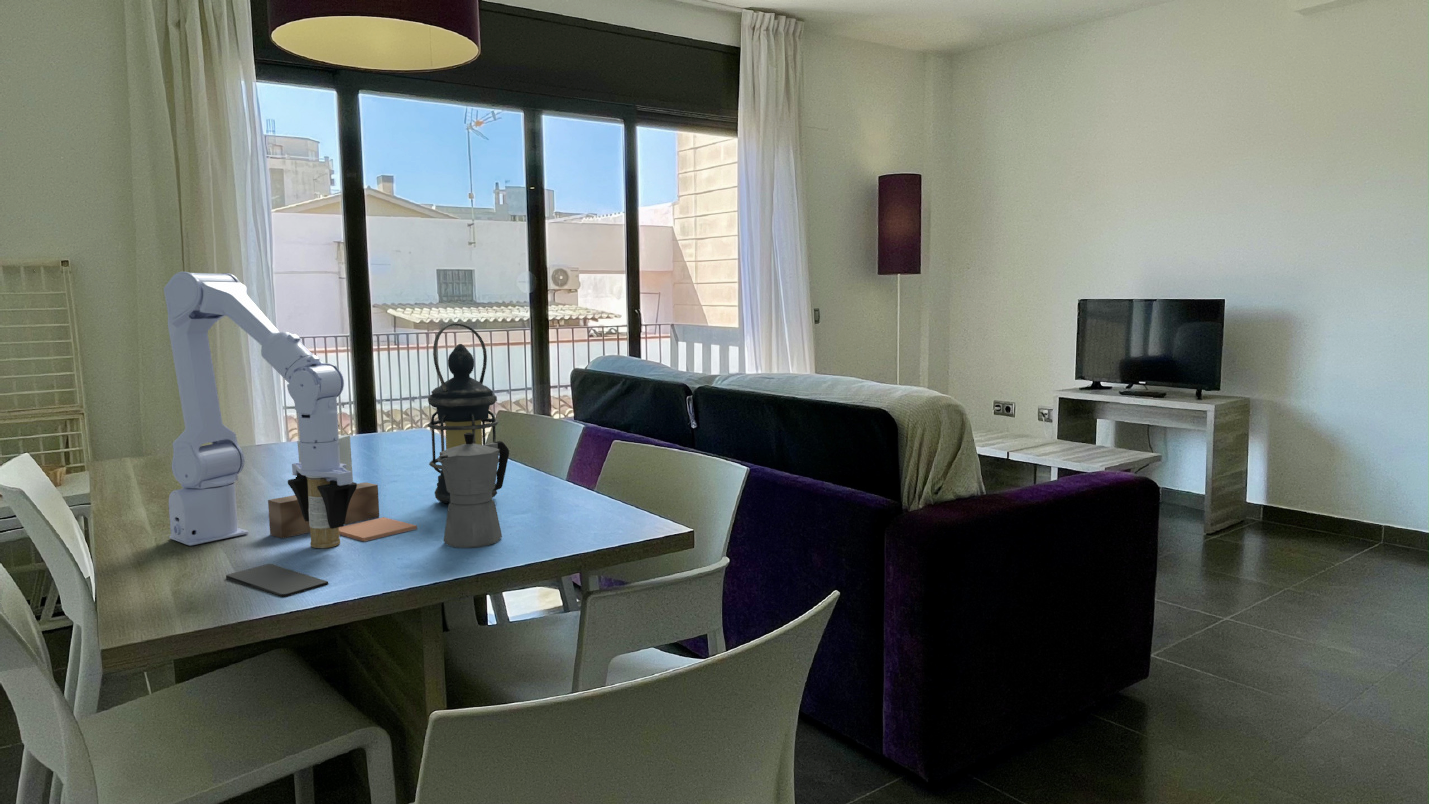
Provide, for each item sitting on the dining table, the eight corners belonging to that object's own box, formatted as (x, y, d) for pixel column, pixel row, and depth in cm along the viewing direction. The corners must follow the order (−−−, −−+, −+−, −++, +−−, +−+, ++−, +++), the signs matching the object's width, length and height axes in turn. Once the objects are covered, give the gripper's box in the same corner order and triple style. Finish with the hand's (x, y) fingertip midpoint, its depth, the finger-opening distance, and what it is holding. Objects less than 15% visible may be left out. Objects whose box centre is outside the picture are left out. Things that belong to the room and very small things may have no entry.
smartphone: (283, 594, 118) (223, 574, 126) (283, 601, 118) (224, 580, 126) (330, 581, 124) (270, 562, 132) (330, 587, 124) (271, 568, 132)
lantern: (467, 513, 165) (460, 324, 161) (414, 506, 170) (406, 323, 166) (516, 497, 177) (510, 322, 173) (464, 491, 183) (458, 322, 179)
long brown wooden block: (282, 538, 148) (279, 503, 147) (269, 534, 150) (266, 499, 150) (379, 517, 162) (377, 484, 161) (365, 513, 165) (364, 482, 164)
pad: (364, 541, 146) (364, 537, 146) (331, 532, 152) (331, 528, 152) (417, 528, 154) (416, 525, 153) (383, 520, 160) (383, 517, 159)
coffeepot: (464, 554, 138) (460, 440, 136) (421, 546, 142) (416, 436, 140) (531, 532, 151) (527, 427, 149) (489, 525, 156) (486, 424, 154)
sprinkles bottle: (323, 540, 146) (319, 460, 145) (347, 542, 145) (342, 461, 143) (303, 548, 142) (298, 465, 140) (327, 550, 141) (322, 466, 139)
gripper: (367, 441, 140) (372, 525, 142) (319, 433, 149) (323, 512, 151) (325, 447, 135) (330, 534, 136) (277, 438, 143) (282, 520, 145)
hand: (324, 523), depth 143 cm, fingers open, 7 cm apart
